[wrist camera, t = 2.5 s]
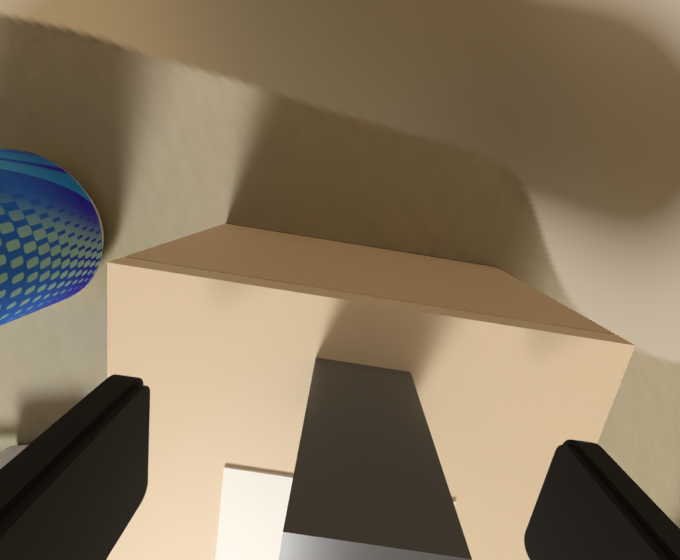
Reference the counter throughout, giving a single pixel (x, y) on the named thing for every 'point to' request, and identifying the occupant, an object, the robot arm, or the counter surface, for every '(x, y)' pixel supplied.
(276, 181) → the counter surface
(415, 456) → the tan labeled panel
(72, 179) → the beer can
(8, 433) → the counter surface
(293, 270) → the carton
